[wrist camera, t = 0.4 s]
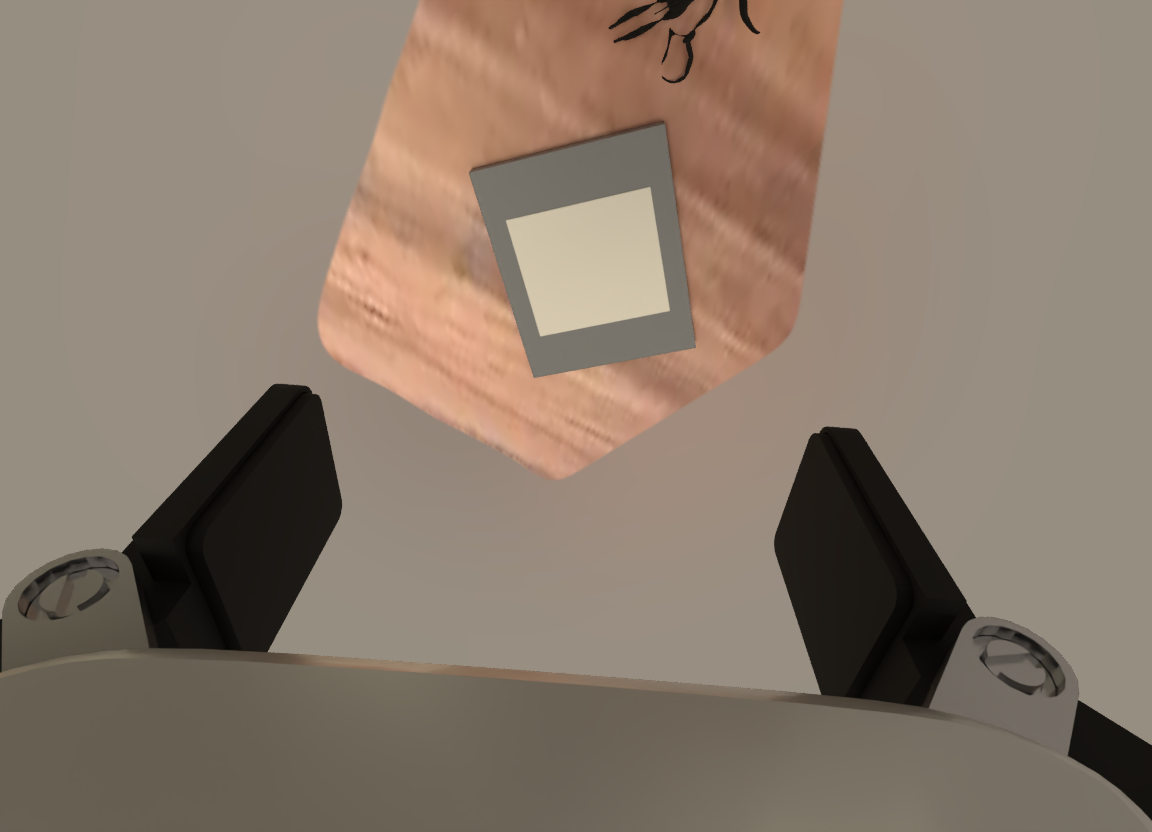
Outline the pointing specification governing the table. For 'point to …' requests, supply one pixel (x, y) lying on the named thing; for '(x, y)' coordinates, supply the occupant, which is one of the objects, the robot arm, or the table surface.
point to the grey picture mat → (590, 250)
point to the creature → (677, 6)
